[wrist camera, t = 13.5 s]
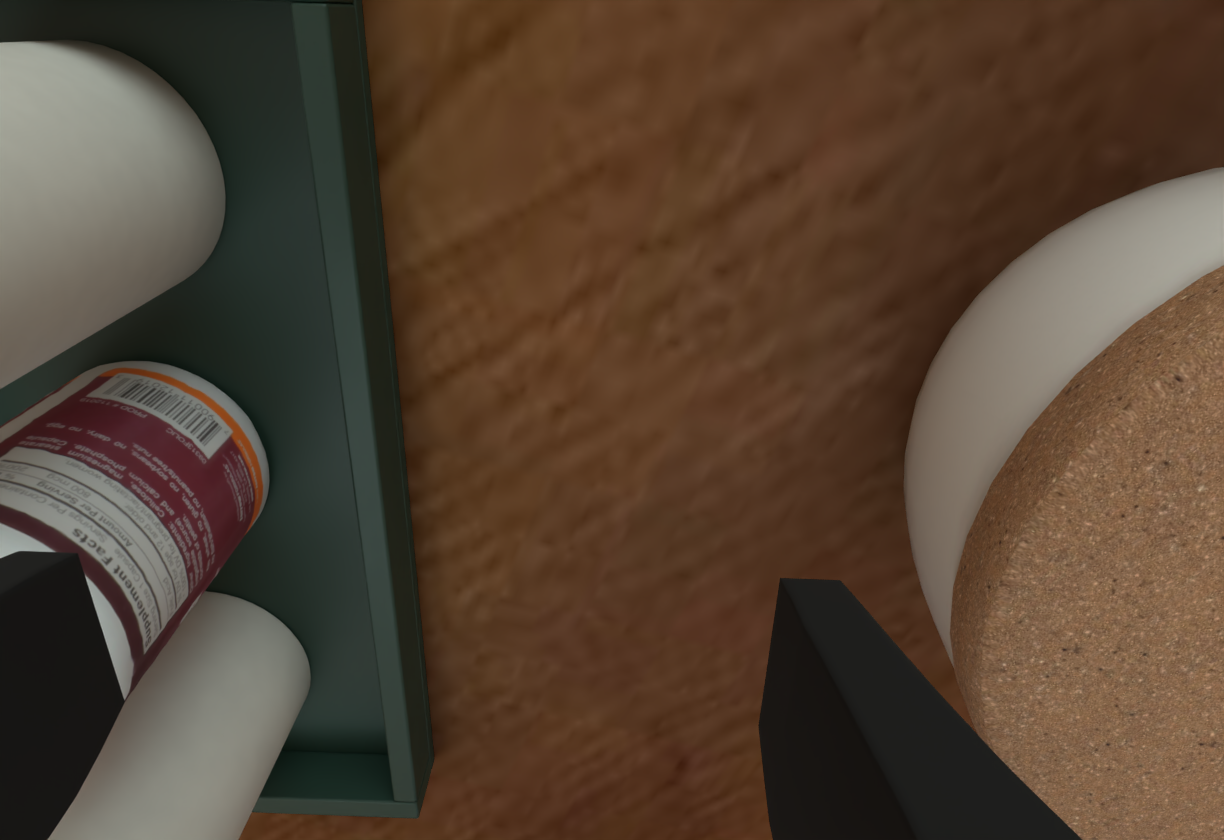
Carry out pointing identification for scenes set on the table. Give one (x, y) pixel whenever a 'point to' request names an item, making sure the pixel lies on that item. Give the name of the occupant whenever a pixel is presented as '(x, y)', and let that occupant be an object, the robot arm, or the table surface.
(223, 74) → the tray
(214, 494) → the pill bottle
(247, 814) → the pale bottle far
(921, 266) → the table surface
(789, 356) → the table surface
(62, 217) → the pale bottle near
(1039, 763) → the trinket box
